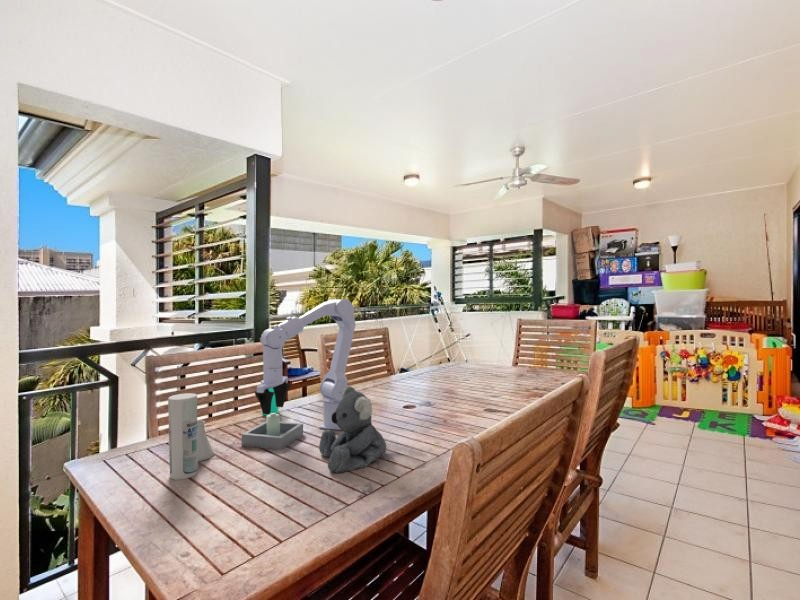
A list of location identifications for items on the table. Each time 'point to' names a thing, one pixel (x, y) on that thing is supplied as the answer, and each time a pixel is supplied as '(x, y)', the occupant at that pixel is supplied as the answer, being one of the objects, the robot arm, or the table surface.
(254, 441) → the bin
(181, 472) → the spray can
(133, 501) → the table surface
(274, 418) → the cylinder
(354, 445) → the koala plush
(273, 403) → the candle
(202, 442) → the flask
